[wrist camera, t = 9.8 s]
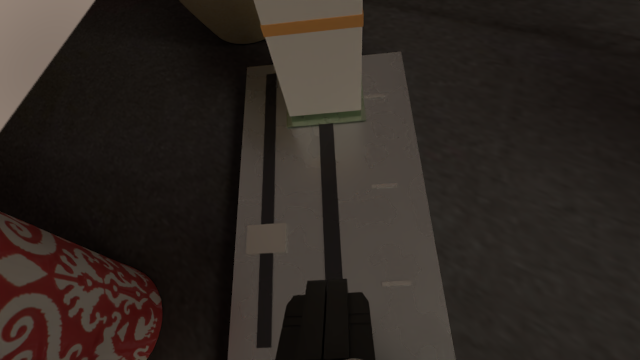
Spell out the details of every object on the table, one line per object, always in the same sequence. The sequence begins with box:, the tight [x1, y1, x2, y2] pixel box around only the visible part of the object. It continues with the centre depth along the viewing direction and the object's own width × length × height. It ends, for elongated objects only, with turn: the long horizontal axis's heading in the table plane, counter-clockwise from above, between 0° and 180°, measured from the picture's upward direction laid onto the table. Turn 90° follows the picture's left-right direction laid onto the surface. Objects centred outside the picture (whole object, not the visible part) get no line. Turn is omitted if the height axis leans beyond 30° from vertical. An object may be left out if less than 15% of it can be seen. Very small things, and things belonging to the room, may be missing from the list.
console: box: [228, 52, 456, 360], centre depth 22 cm, size 12×22×2 cm, turn 2°
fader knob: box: [254, 0, 363, 116], centre depth 20 cm, size 5×4×10 cm
